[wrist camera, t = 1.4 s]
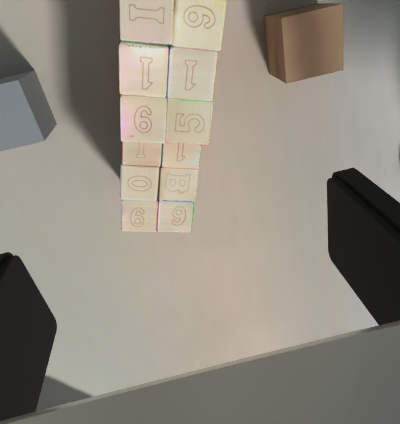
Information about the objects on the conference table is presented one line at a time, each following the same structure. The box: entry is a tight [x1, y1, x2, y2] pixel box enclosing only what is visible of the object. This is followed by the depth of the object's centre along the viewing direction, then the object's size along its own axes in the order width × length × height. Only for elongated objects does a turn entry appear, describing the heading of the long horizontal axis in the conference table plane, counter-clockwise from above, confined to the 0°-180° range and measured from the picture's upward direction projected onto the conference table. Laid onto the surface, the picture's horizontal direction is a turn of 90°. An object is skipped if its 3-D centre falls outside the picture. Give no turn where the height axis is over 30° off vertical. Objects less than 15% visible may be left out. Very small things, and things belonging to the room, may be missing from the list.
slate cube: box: [0, 70, 57, 151], centre depth 32 cm, size 5×5×5 cm
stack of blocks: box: [119, 0, 227, 232], centre depth 29 cm, size 21×6×12 cm, turn 173°
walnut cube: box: [264, 4, 344, 83], centre depth 32 cm, size 5×5×5 cm
